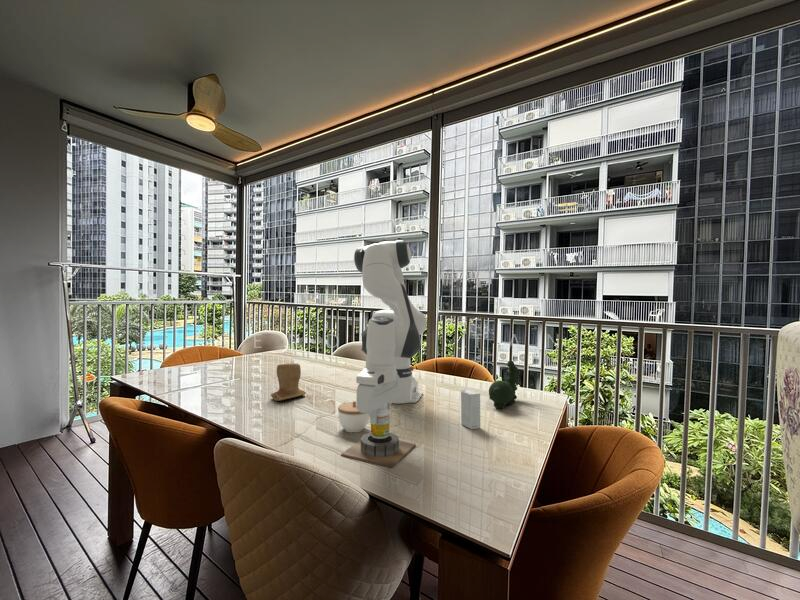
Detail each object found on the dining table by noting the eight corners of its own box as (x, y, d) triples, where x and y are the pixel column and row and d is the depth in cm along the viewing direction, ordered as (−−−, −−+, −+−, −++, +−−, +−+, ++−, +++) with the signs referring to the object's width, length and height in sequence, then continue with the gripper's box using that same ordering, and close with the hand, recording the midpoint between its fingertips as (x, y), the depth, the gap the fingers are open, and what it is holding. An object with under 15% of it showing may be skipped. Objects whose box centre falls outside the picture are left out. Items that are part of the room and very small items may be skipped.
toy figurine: (501, 400, 169) (481, 409, 148) (503, 358, 170) (484, 361, 149) (522, 404, 164) (505, 414, 143) (524, 361, 165) (507, 364, 144)
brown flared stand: (292, 391, 172) (293, 359, 171) (309, 396, 165) (310, 362, 164) (263, 398, 159) (263, 363, 159) (280, 404, 152) (280, 367, 152)
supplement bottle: (370, 432, 111) (371, 400, 111) (388, 432, 112) (389, 399, 112) (370, 439, 106) (370, 405, 106) (389, 439, 106) (389, 405, 106)
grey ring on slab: (369, 436, 120) (370, 425, 120) (415, 446, 113) (415, 434, 113) (341, 455, 105) (341, 442, 105) (391, 468, 98) (391, 454, 98)
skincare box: (480, 428, 129) (481, 393, 129) (470, 430, 127) (471, 394, 127) (470, 422, 135) (470, 389, 134) (459, 424, 133) (460, 390, 132)
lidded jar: (343, 437, 119) (344, 408, 118) (333, 426, 128) (334, 399, 128) (374, 432, 124) (375, 403, 123) (362, 422, 133) (363, 395, 133)
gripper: (387, 365, 119) (387, 408, 120) (352, 378, 101) (351, 429, 101) (405, 367, 117) (404, 411, 117) (372, 381, 98) (371, 433, 98)
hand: (379, 420), depth 109 cm, fingers closed on supplement bottle, 5 cm apart
